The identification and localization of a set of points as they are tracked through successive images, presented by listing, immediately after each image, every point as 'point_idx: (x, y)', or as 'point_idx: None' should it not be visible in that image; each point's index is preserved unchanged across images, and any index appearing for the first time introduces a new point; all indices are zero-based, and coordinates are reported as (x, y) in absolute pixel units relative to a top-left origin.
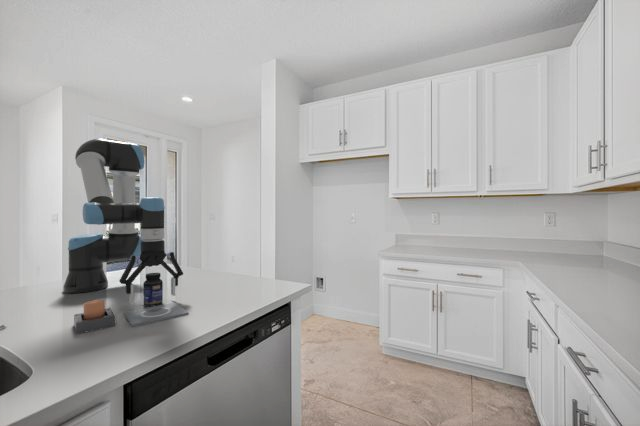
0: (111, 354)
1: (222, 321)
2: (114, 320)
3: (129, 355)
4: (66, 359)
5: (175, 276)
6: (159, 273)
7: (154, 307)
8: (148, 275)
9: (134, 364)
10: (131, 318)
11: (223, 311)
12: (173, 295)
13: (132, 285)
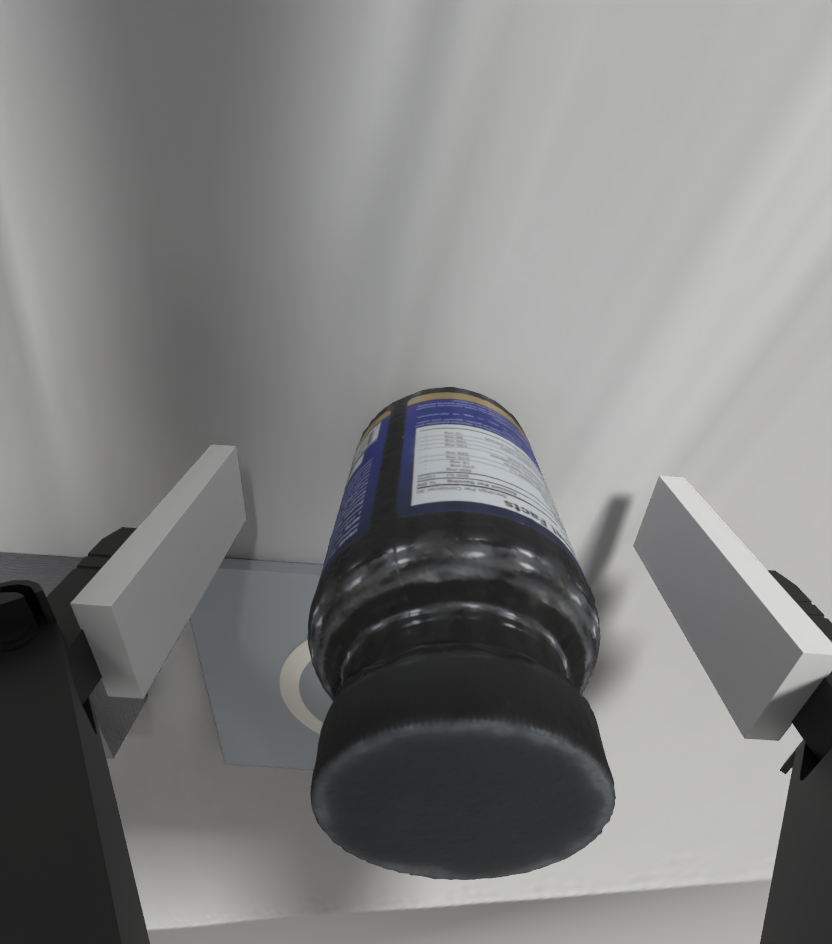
0: (160, 870)
1: (565, 883)
2: (127, 727)
3: (210, 893)
4: None
5: (809, 767)
6: (575, 843)
7: None
8: (343, 849)
9: (221, 921)
10: (227, 695)
11: (661, 828)
12: (637, 549)
13: (137, 684)
